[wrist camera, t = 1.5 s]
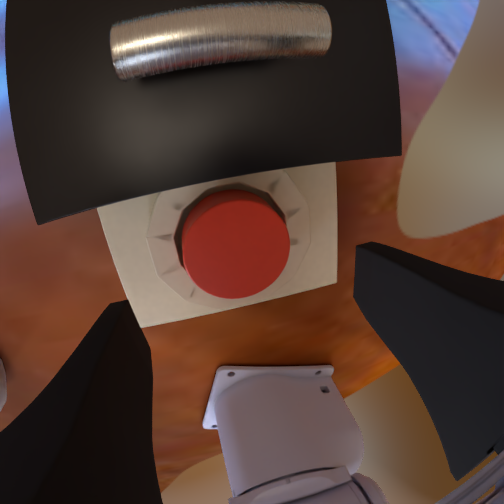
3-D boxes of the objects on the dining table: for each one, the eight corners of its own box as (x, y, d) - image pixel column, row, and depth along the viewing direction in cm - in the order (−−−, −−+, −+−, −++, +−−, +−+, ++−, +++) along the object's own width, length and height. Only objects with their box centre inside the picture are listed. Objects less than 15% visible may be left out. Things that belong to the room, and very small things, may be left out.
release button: (281, 268, 15) (293, 286, 13) (193, 287, 14) (195, 309, 13) (273, 180, 13) (286, 190, 11) (172, 200, 12) (171, 212, 11)
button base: (330, 274, 19) (350, 298, 16) (140, 318, 17) (137, 349, 15) (325, 135, 15) (352, 140, 13) (94, 177, 13) (77, 191, 11)
